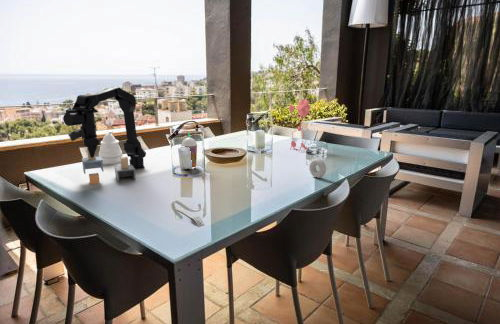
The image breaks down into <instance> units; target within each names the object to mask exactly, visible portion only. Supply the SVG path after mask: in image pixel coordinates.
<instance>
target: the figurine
mask: <svg viewBox="0 0 500 324" xmlns="http://www.w3.org/2000/svg"><path fill="white" fill-rule="evenodd" d="M295 109H296V110H297V113H298V114H297V115H296V118H298V119H300V120H301V122H300V125H299V126H298V127H297V129H296V130H293V131H292V132H291V134H292V138H294V135H293V133H294V132H296V131H298V132H300V131H301V133H302V138H304V136H305V135H304V132H303V130H302V123H303V120H304V119H303V118H306V117H307V116H308V114H309V115H310V116H312V118H313V119H316V118H315V117H314V115H313V114H312V113H311V112H310V110H311V105H310V101H309V100H307V98H304V99H303V98H300V100H299V102H298V105H297V106H296V108H295V106H294V105H293V104H291V105H289V106H288V110H289V112H290V115H291V117H293V113H294V111H295ZM296 147H297V142H296V141H295V140H291V143H290V147H289V150H290V149H292V148H293V149H295V148H296ZM301 148H303V149H304V150H305V151H306V149H307V150H308V147H307V146H306V145H305V144H304V141H301V143H300V146H299V150H298V152H299V151H301Z"/></svg>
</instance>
